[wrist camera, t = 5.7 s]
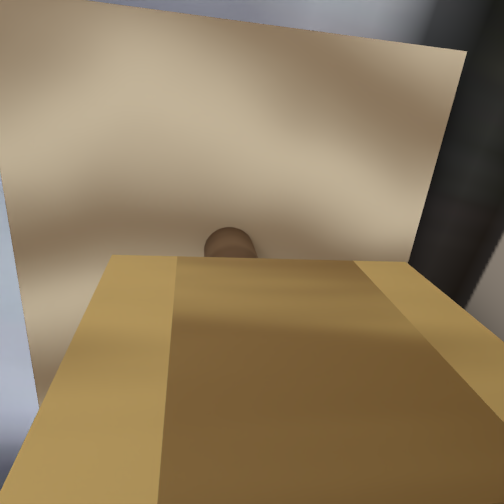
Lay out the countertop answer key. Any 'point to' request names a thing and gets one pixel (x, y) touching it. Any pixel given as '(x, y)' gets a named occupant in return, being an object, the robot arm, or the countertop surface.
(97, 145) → the post board
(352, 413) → the wooden crate frame
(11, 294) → the countertop surface
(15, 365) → the countertop surface
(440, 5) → the countertop surface
